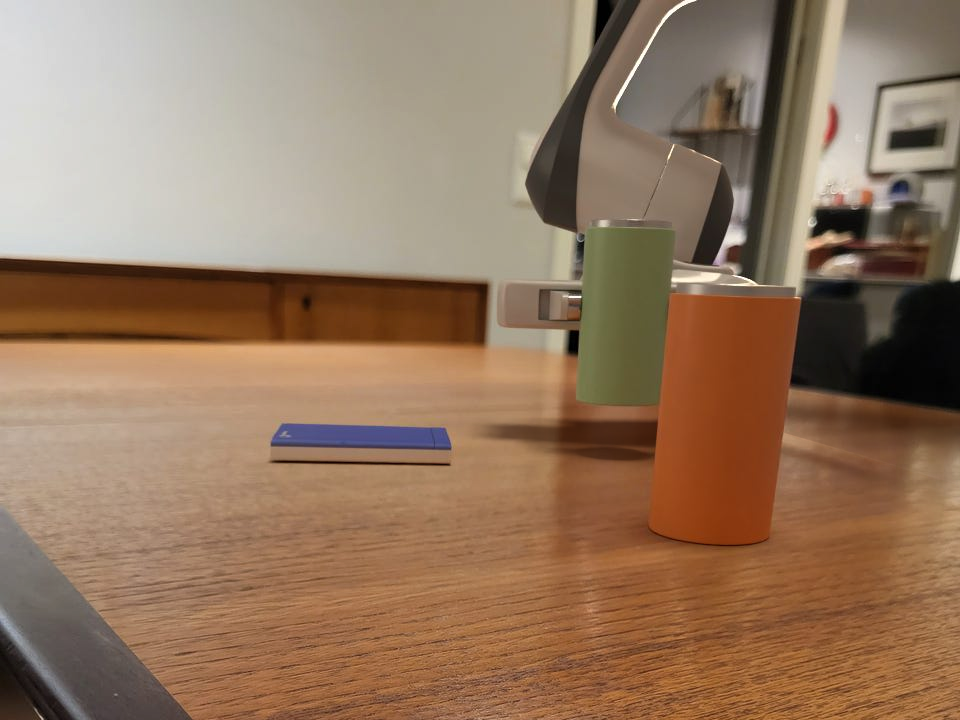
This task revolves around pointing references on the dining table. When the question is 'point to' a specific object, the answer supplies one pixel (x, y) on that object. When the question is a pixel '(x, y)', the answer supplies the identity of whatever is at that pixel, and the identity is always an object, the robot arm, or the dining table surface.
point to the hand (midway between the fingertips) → (625, 309)
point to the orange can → (722, 411)
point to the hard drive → (360, 443)
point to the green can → (624, 311)
